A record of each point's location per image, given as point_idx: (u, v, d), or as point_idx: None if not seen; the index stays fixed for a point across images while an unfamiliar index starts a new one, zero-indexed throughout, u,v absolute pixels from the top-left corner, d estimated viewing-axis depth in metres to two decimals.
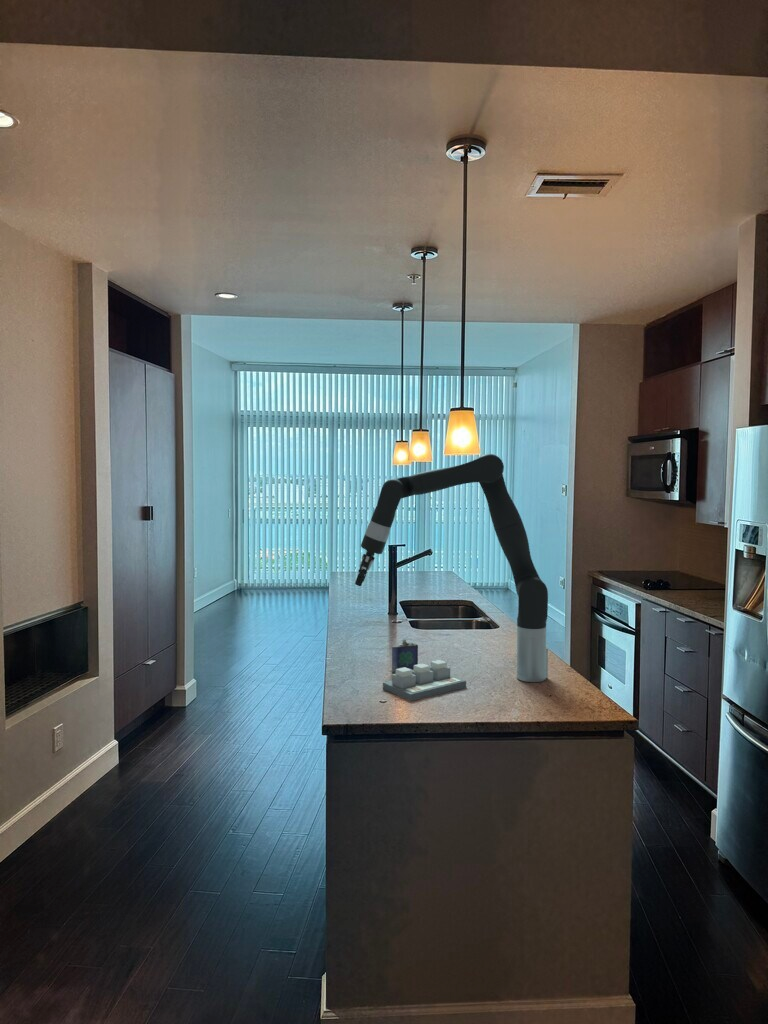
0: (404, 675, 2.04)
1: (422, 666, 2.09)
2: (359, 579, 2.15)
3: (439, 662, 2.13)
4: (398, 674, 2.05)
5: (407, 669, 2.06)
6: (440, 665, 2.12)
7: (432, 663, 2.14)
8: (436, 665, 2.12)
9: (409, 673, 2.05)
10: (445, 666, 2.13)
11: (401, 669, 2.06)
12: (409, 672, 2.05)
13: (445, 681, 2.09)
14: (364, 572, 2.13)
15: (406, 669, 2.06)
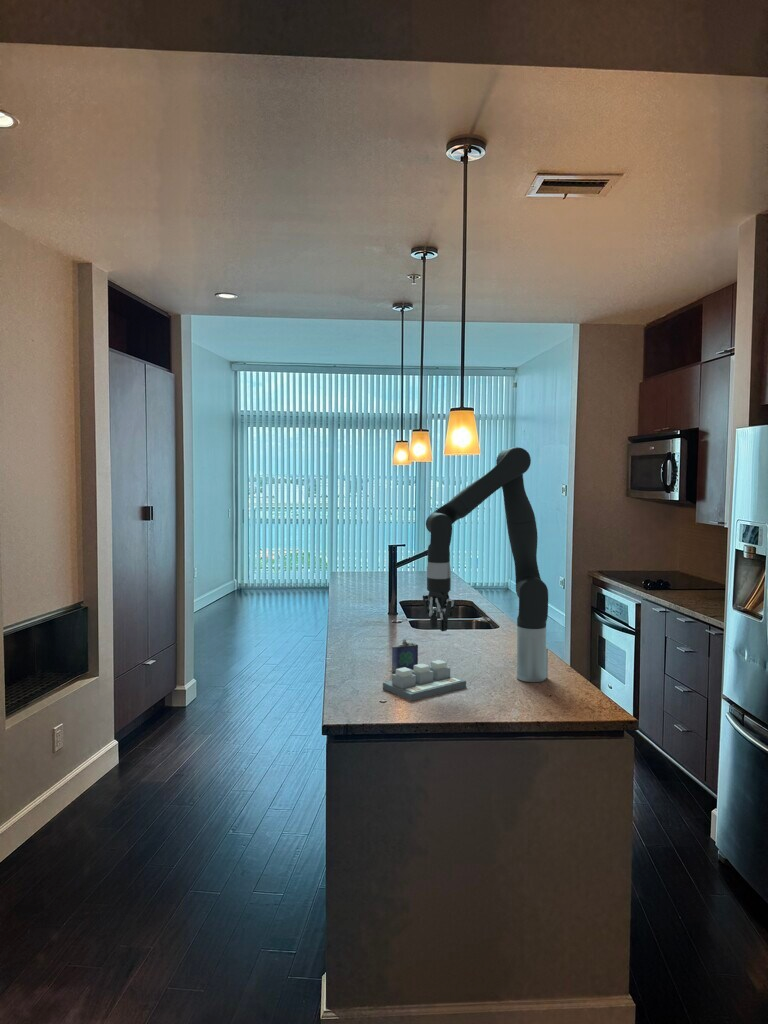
0: (404, 675, 2.04)
1: (422, 666, 2.09)
2: (445, 624, 2.10)
3: (439, 662, 2.13)
4: (398, 674, 2.05)
5: (407, 669, 2.06)
6: (440, 665, 2.12)
7: (432, 663, 2.14)
8: (436, 665, 2.12)
9: (409, 673, 2.05)
10: (445, 666, 2.13)
11: (401, 669, 2.06)
12: (409, 672, 2.05)
13: (445, 681, 2.09)
14: (451, 616, 2.09)
15: (406, 669, 2.06)
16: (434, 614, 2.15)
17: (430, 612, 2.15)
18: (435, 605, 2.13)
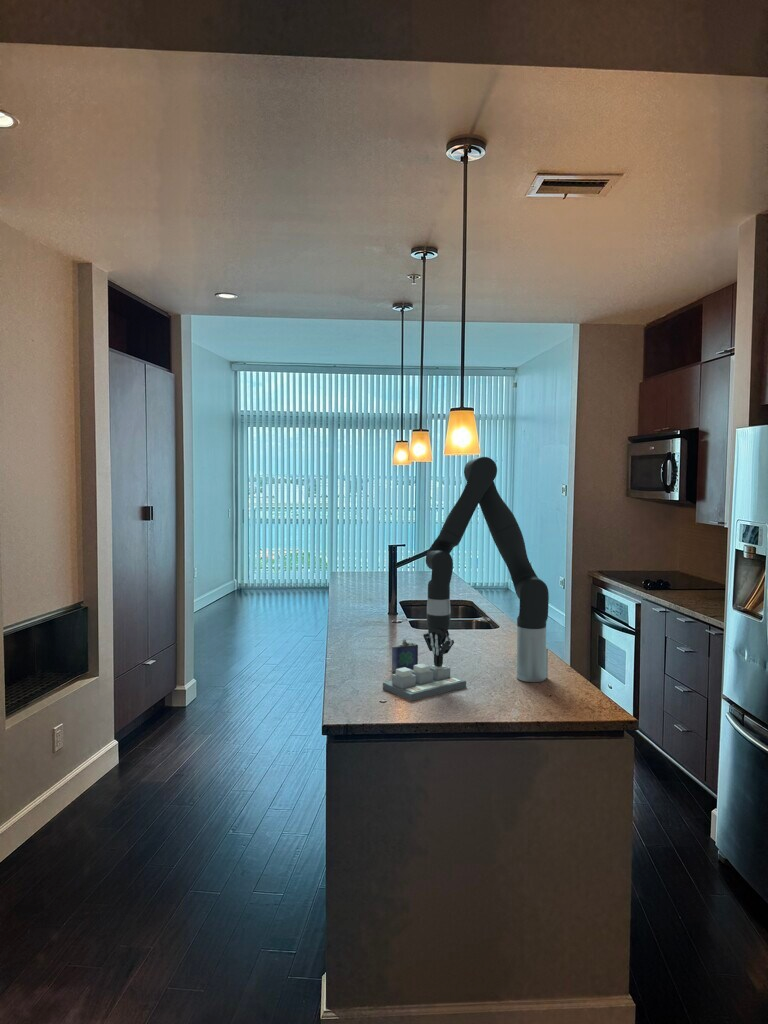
0: (404, 675, 2.04)
1: (422, 666, 2.09)
2: (440, 660, 2.13)
3: (439, 666, 2.13)
4: (398, 674, 2.05)
5: (407, 669, 2.06)
6: None
7: (432, 667, 2.14)
8: None
9: (409, 673, 2.05)
10: None
11: (401, 669, 2.06)
12: (409, 672, 2.05)
13: (445, 681, 2.09)
14: (446, 651, 2.12)
15: (406, 669, 2.06)
16: None
17: (434, 650, 2.14)
18: None
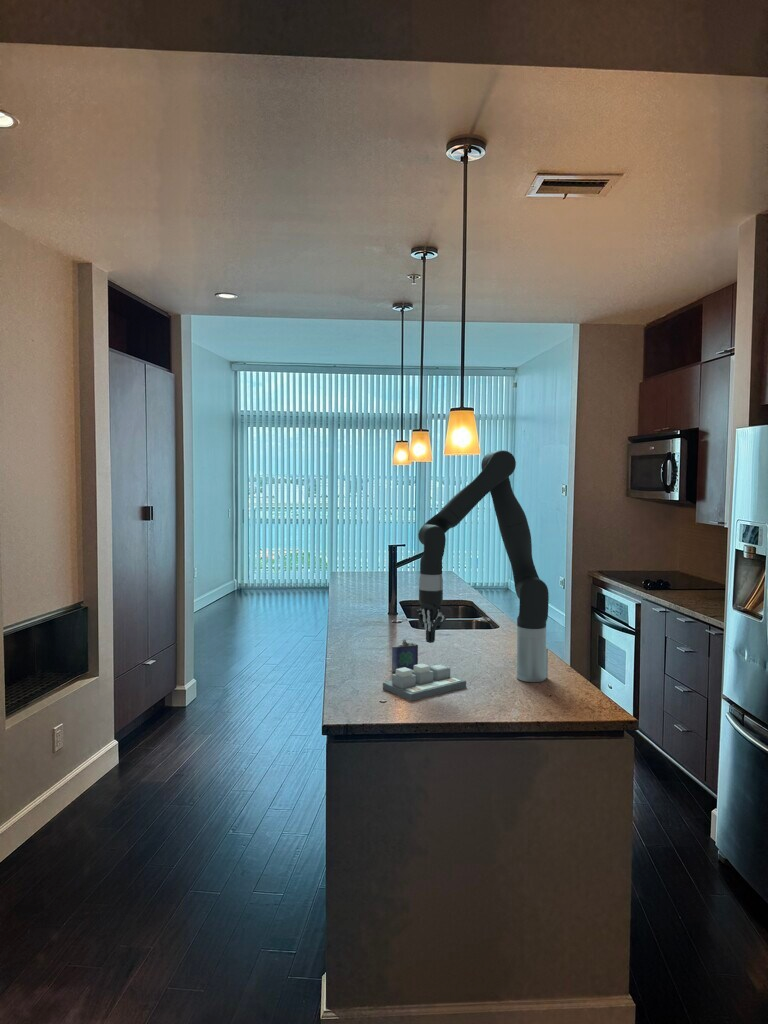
0: (404, 675, 2.04)
1: (422, 666, 2.09)
2: (432, 636, 2.11)
3: (439, 667, 2.13)
4: (398, 674, 2.05)
5: (407, 669, 2.06)
6: None
7: None
8: None
9: (409, 673, 2.05)
10: None
11: (401, 669, 2.06)
12: (409, 672, 2.05)
13: (445, 681, 2.09)
14: (438, 627, 2.10)
15: (406, 669, 2.06)
16: None
17: (426, 626, 2.12)
18: None
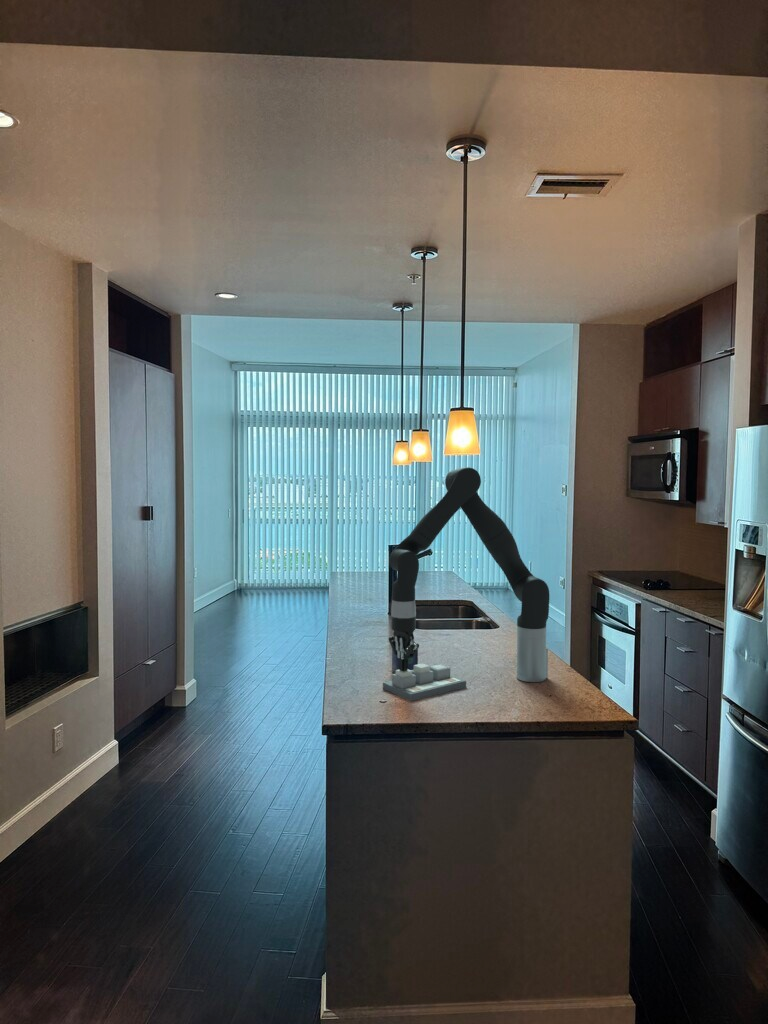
0: (404, 676, 2.04)
1: (422, 666, 2.09)
2: (406, 664, 2.05)
3: (439, 667, 2.13)
4: (398, 675, 2.05)
5: (407, 670, 2.06)
6: None
7: None
8: None
9: (409, 674, 2.05)
10: None
11: None
12: (409, 673, 2.05)
13: (445, 681, 2.09)
14: (411, 655, 2.03)
15: None
16: None
17: (399, 654, 2.05)
18: None
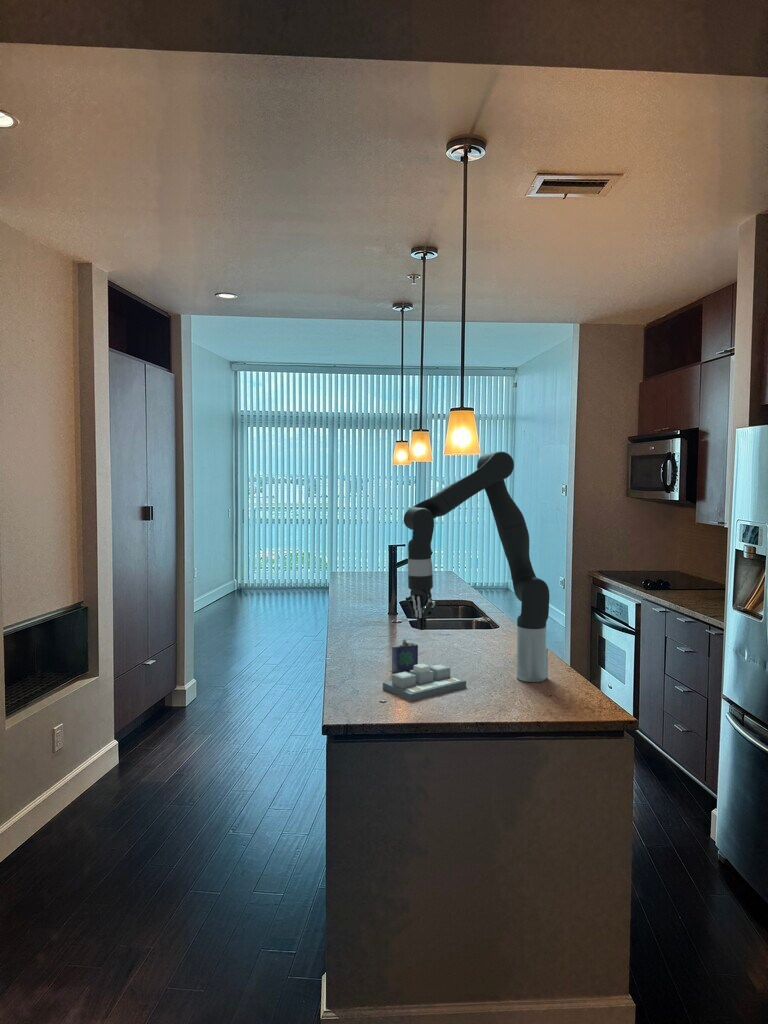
0: None
1: (422, 666, 2.09)
2: (424, 623, 2.04)
3: (439, 667, 2.13)
4: None
5: (407, 674, 2.06)
6: None
7: None
8: None
9: None
10: None
11: (401, 674, 2.06)
12: None
13: (445, 681, 2.09)
14: (429, 614, 2.02)
15: (406, 674, 2.06)
16: None
17: (417, 613, 2.04)
18: None
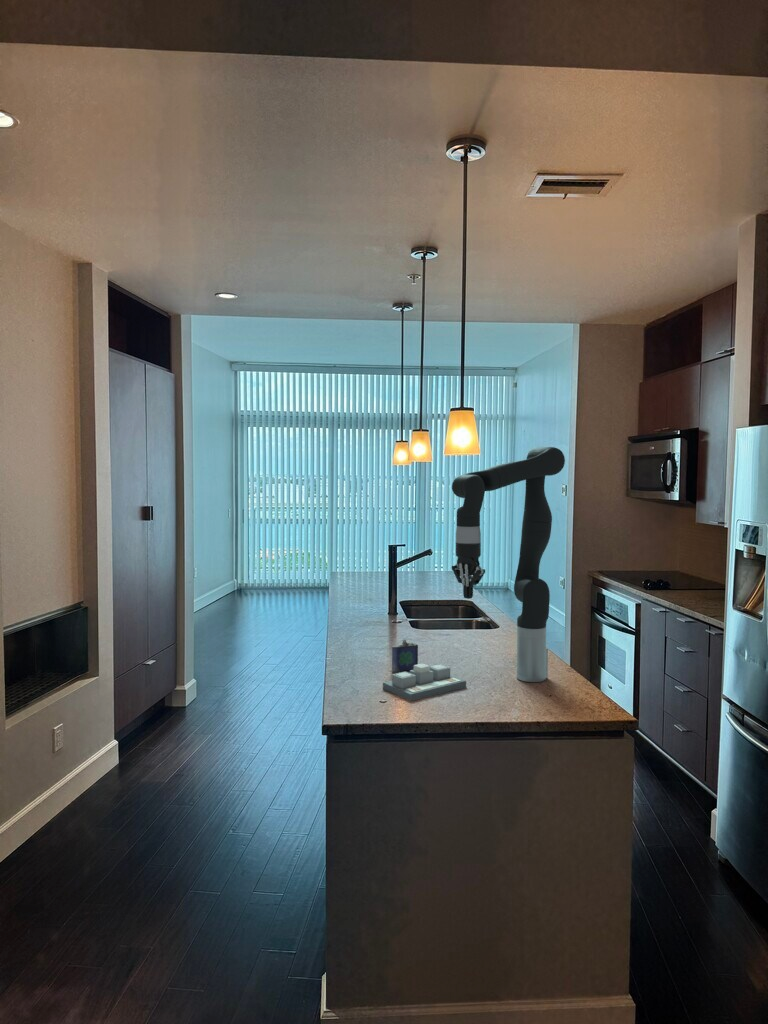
0: None
1: (422, 666, 2.09)
2: (471, 591, 2.02)
3: (439, 667, 2.13)
4: None
5: (407, 674, 2.06)
6: None
7: None
8: None
9: None
10: None
11: (401, 674, 2.06)
12: None
13: (445, 681, 2.09)
14: (477, 582, 2.01)
15: (406, 674, 2.06)
16: None
17: (463, 581, 2.03)
18: None
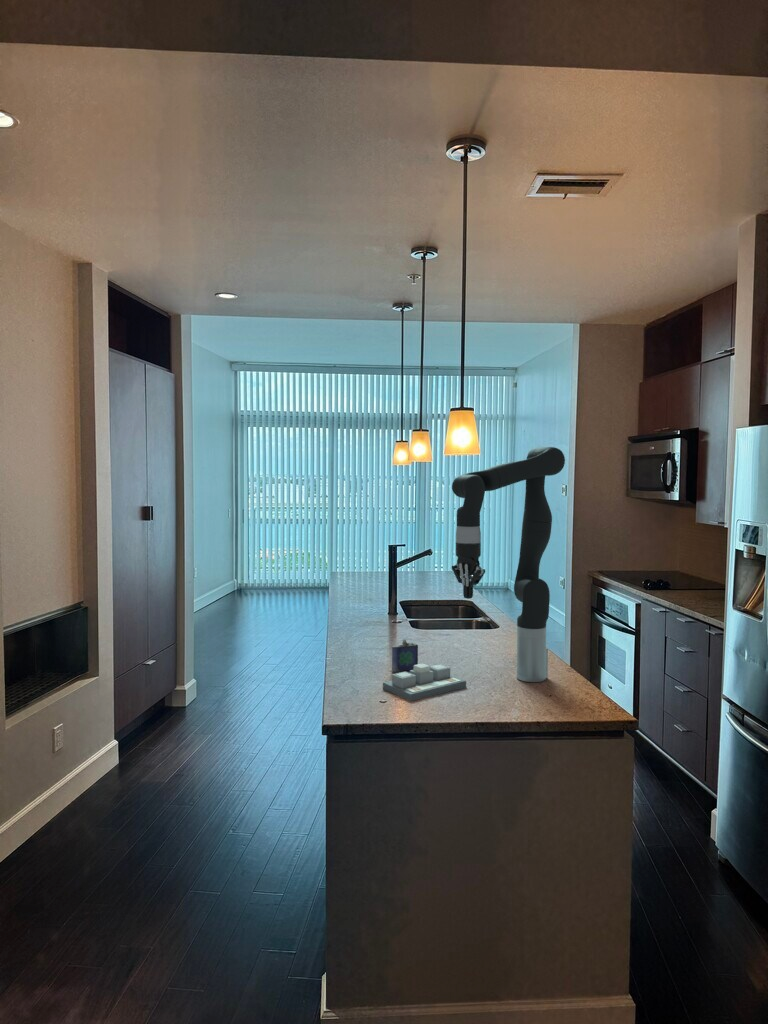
0: None
1: (422, 666, 2.09)
2: (471, 591, 2.02)
3: (439, 667, 2.13)
4: None
5: (407, 674, 2.06)
6: None
7: None
8: None
9: None
10: None
11: (401, 674, 2.06)
12: None
13: (445, 681, 2.09)
14: (477, 582, 2.01)
15: (406, 674, 2.06)
16: None
17: (463, 581, 2.03)
18: None
